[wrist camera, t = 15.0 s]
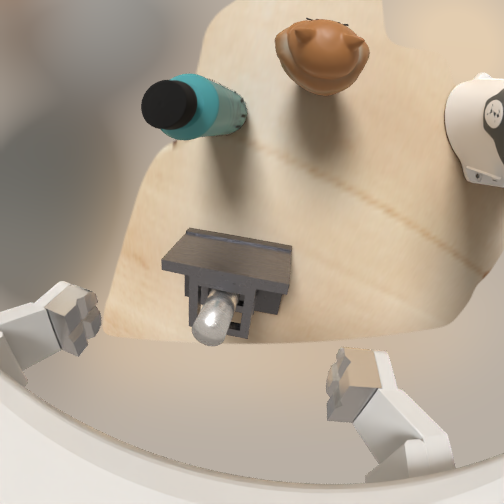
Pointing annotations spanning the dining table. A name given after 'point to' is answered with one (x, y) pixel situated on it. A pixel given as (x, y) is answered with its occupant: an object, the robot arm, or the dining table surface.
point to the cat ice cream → (321, 55)
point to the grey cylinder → (215, 317)
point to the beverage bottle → (193, 107)
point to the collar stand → (231, 272)
